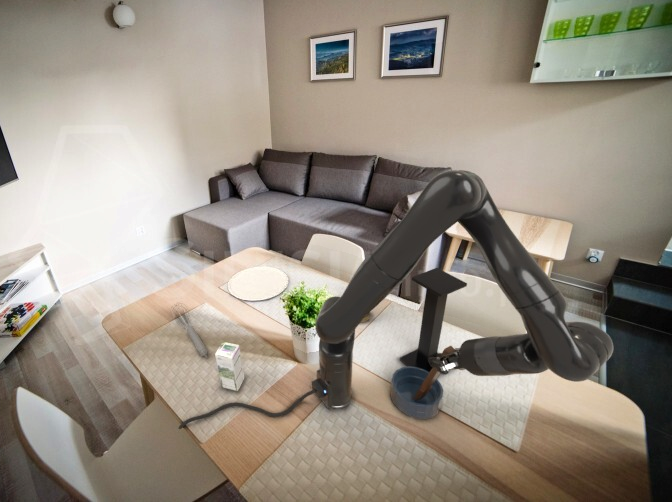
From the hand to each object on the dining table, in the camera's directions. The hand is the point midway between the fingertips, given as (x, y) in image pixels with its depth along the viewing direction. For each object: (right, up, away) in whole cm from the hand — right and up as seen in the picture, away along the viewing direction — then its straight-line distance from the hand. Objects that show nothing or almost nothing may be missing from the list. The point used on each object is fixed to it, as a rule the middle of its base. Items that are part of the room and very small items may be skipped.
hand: (434, 360), depth 83 cm
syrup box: (-54, -16, +21) cm, 60 cm away
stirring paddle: (+1, -5, +1) cm, 5 cm away
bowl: (0, -16, +11) cm, 19 cm away
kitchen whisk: (-73, -6, +45) cm, 86 cm away
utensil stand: (+8, -10, +22) cm, 26 cm away
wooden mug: (-5, -1, +45) cm, 46 cm away
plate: (-48, +8, +73) cm, 88 cm away
